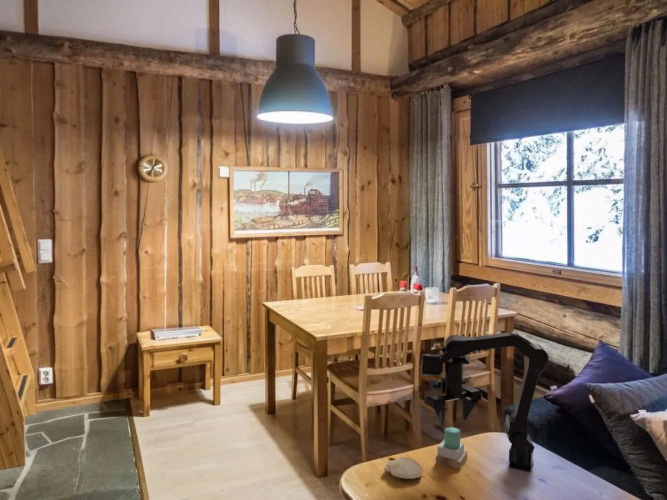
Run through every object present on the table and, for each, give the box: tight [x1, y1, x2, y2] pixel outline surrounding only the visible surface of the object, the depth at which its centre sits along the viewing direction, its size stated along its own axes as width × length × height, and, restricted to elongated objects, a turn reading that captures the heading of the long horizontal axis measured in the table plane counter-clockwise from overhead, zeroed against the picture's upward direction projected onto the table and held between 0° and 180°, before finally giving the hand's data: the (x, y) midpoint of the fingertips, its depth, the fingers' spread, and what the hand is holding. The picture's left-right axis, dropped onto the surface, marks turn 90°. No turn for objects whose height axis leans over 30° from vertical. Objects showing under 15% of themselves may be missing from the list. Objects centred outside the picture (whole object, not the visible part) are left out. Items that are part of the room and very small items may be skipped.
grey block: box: [436, 439, 465, 460], centre depth 174 cm, size 6×6×3 cm
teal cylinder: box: [443, 427, 461, 449], centre depth 173 cm, size 5×5×5 cm
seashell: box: [383, 456, 424, 480], centre depth 166 cm, size 12×12×3 cm
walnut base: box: [435, 450, 468, 471], centre depth 174 cm, size 8×8×3 cm
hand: (453, 422), depth 173 cm, fingers open, 9 cm apart
